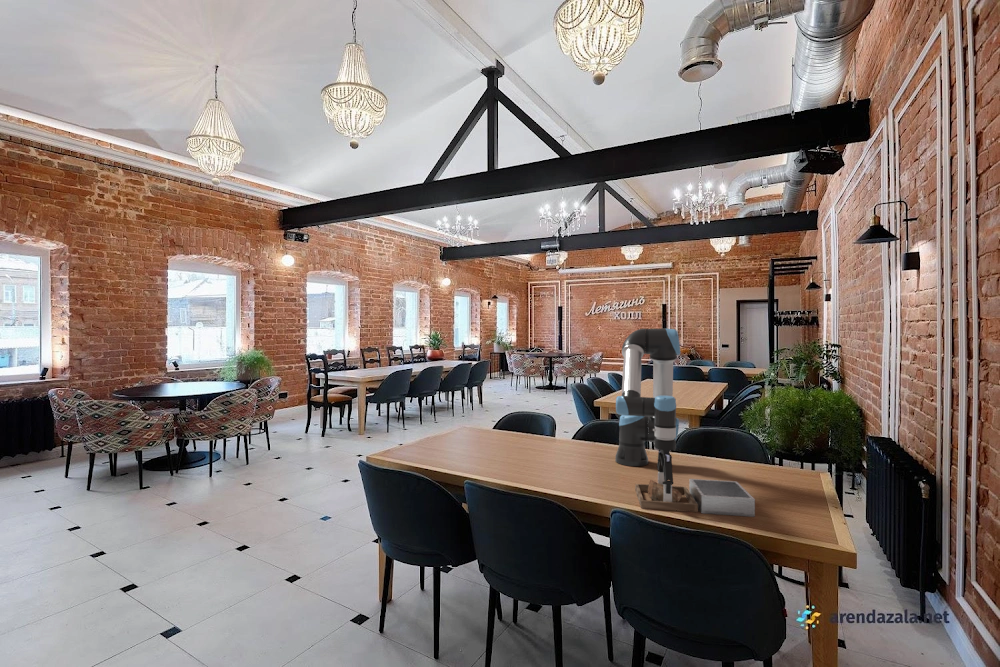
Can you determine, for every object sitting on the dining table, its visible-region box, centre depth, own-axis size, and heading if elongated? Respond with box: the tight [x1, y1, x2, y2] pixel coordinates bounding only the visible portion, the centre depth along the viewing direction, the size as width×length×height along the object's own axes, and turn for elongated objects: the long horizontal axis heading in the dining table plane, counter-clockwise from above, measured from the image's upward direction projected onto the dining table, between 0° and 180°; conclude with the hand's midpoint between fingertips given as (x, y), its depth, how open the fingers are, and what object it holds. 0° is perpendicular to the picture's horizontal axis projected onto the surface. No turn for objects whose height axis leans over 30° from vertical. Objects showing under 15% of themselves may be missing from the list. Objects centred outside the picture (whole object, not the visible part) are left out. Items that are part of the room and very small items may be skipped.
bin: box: [688, 478, 756, 518], centre depth 170 cm, size 19×17×6 cm
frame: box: [635, 483, 699, 513], centre depth 174 cm, size 19×19×2 cm
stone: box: [647, 479, 683, 503], centre depth 175 cm, size 10×11×10 cm
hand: (664, 495), depth 174 cm, fingers open, 13 cm apart
